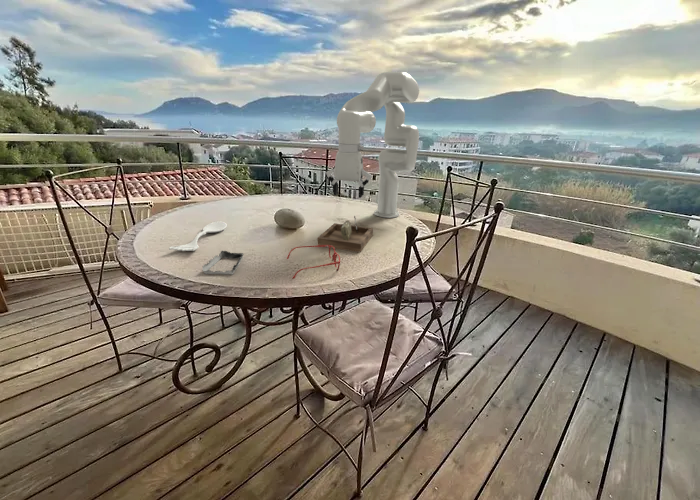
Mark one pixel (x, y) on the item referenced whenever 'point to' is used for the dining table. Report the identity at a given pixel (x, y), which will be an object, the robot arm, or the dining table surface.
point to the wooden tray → (353, 244)
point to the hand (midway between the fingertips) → (348, 195)
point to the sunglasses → (320, 265)
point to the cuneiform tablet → (347, 229)
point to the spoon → (208, 228)
